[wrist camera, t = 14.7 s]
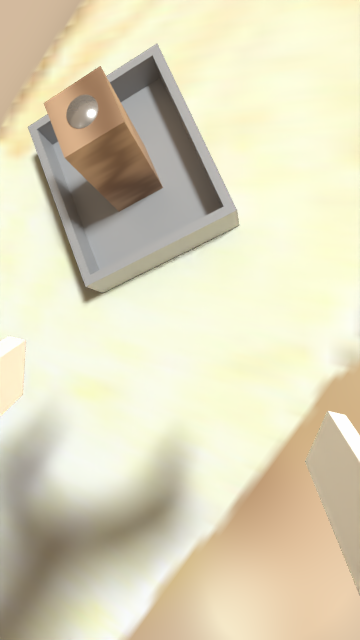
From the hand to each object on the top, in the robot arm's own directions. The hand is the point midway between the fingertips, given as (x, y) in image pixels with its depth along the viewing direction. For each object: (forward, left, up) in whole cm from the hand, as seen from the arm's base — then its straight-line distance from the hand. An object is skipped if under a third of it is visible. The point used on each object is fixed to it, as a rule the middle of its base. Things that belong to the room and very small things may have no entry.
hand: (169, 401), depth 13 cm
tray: (-1, +25, -21) cm, 33 cm away
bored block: (-1, +25, -20) cm, 32 cm away
